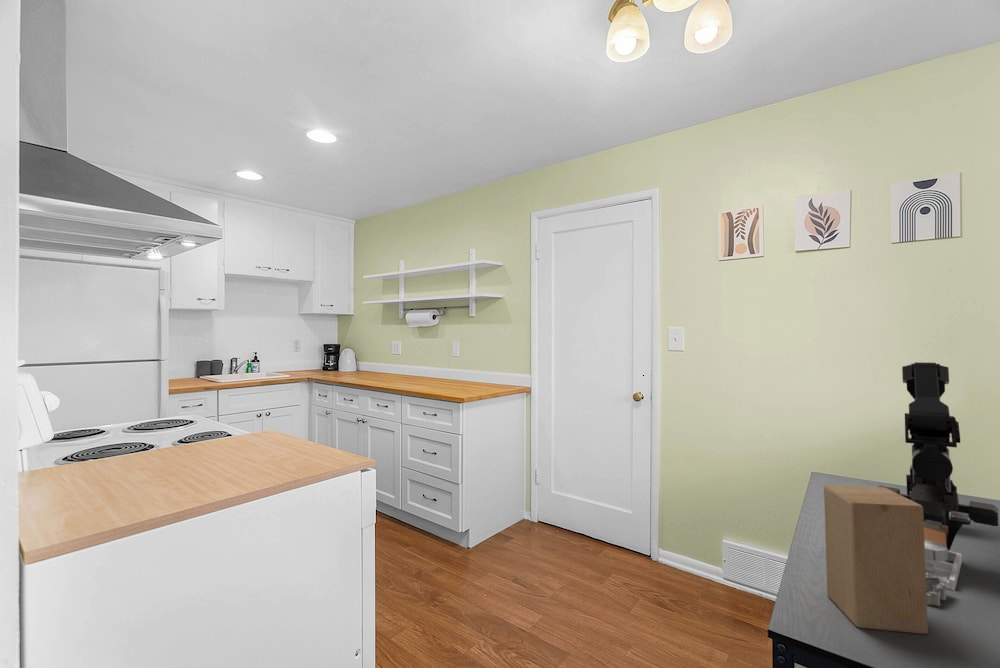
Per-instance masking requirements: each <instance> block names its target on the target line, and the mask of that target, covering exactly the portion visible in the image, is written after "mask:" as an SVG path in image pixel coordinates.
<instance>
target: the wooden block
mask: <svg viewBox="0 0 1000 668" xmlns="http://www.w3.org/2000/svg"><path fill="white" fill-rule="evenodd" d="M885 487H886V486H885ZM885 487H879V486H865V485H864V486H860V485H859V486H858V485H834V484H826V485H824V486H823V493H824V494H823V496H824V497H823V498H824V499H823V501H824V526H825V527H824V529H825V530H824V531H825V561H826V563H825V564H826V566H825V567H826V589H827V590H826V592H827V596H828V598H829V599H830V600H831V601H832V603H834V604H835V605H836V607H838V608H839V610H840V611H841V612H842V613H843V614H844V615H845V616H846V617H847V618H848V620H850V621H851V623H852V624H854V626H855V627H857V628H860V629H871V630H879V631H880V630H881V631H890V632H891V631H892V632H901V633H910V634H911V633H912V634H923V635H927V634H928V633H929V628H928V626H929V625H928V605H927V594H926V593H927V591H926V568H925V542H924V516H923V507H922V505H920V504H918V503H916V502H914V501H912V500H909V499H907V498H905V497H903V496H901V495H899V494H897V493H895V492H893V491H891V490H889V489H887V488H885Z"/></svg>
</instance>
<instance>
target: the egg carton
mask: <svg viewBox="0 0 1000 668" xmlns="http://www.w3.org/2000/svg"><path fill="white" fill-rule="evenodd" d="M945 584H947V577H937V576H936V575H934V576H932V575H930V574H928V573H926V594H927V606H929V605H931V606H937V607H939V606H941V600H943V601H945V600H947V591H946V590H947V588H946V586H945Z"/></svg>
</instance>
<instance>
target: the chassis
mask: <svg viewBox="0 0 1000 668" xmlns="http://www.w3.org/2000/svg"><path fill="white" fill-rule="evenodd" d="M962 558H963V557H962V553H960V552H955V551H951V550H949V551H948V559H947V561H935V560H933V561H932V560H927V559H925V568H926V573H928V574H930V575H932V576H934V575H936V576H937V577H947V584H945V586H946V590H947V589H949V590H952V591H956V587H957V584H958V579H959V576H960V571H961V567H962V562H963V561H962ZM948 561H949V562H948ZM951 562H952V563H951Z"/></svg>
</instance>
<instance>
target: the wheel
mask: <svg viewBox="0 0 1000 668" xmlns="http://www.w3.org/2000/svg"><path fill="white" fill-rule="evenodd" d="M924 542H925V559H927V560H932V561H933V560H935V561H944V562H948V560H947V559H948V551H947V547H946V546H944V545H942V544H939V543H936V542H933V541H928V540H924Z"/></svg>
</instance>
